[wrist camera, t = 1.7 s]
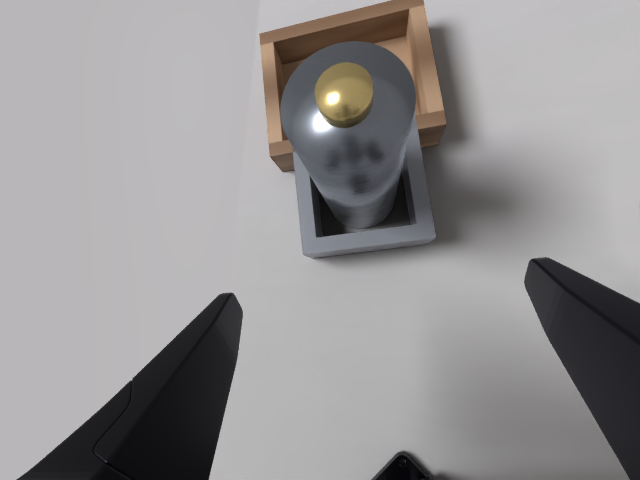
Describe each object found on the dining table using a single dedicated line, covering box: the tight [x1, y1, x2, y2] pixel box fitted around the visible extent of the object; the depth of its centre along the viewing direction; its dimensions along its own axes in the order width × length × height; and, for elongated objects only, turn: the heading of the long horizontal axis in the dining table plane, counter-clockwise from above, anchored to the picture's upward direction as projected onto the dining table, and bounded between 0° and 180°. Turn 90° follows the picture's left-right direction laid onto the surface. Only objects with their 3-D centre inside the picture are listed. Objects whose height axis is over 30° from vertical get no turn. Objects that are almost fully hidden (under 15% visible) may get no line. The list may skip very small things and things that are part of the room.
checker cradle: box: [292, 112, 436, 258], centre depth 22 cm, size 8×8×3 cm
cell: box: [280, 41, 416, 228], centre depth 17 cm, size 5×5×13 cm
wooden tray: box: [260, 0, 447, 172], centre depth 23 cm, size 10×12×3 cm
